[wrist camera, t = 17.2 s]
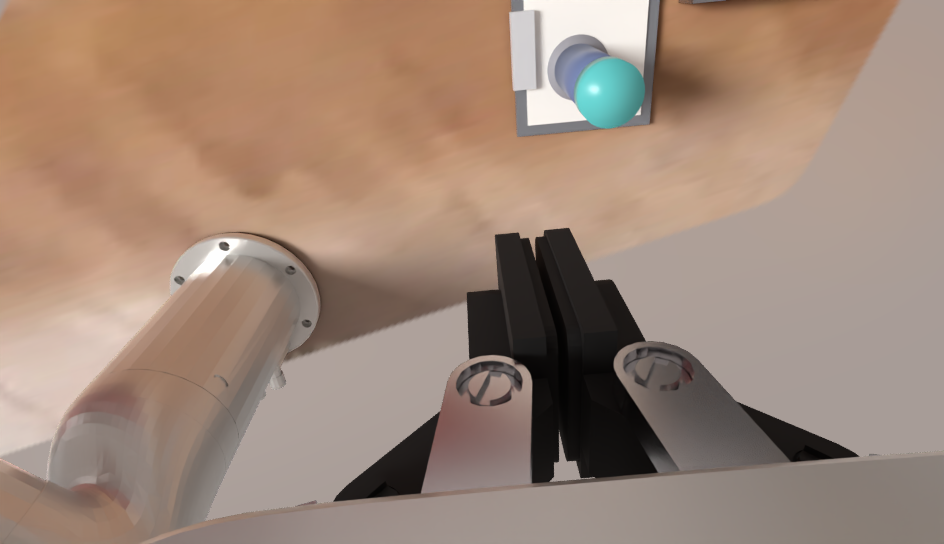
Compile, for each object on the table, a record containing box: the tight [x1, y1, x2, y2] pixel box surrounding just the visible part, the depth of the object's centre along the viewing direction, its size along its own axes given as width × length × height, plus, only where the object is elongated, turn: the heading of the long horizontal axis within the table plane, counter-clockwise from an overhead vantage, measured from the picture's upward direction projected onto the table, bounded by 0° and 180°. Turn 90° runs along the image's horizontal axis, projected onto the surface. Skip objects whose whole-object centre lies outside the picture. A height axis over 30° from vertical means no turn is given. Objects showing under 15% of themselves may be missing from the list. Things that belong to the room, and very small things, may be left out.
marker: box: [555, 43, 645, 128], centre depth 32 cm, size 4×4×10 cm
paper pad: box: [509, 0, 660, 137], centre depth 35 cm, size 12×10×1 cm
